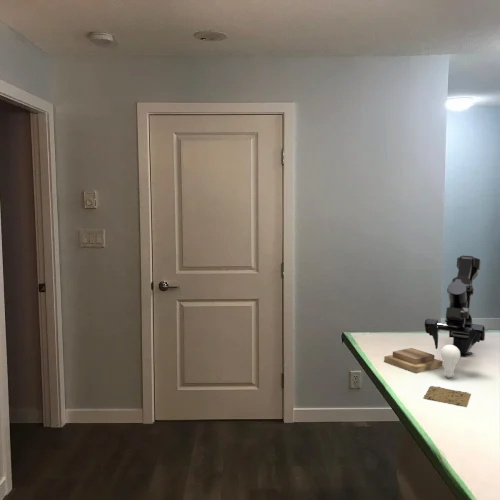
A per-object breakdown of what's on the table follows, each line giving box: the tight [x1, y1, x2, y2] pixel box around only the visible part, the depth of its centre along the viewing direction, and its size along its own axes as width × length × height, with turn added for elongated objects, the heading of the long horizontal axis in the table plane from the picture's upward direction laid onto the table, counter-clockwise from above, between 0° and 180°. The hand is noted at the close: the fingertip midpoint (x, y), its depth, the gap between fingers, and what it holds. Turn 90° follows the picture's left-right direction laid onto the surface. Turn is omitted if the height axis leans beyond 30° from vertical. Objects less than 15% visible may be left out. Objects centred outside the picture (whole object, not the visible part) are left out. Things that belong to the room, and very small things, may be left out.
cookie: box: [422, 385, 472, 408], centre depth 149 cm, size 12×12×1 cm
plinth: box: [383, 347, 444, 374], centre depth 178 cm, size 14×14×4 cm
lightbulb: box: [439, 344, 461, 379], centre depth 165 cm, size 6×6×11 cm
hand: (450, 350), depth 165 cm, fingers open, 9 cm apart
